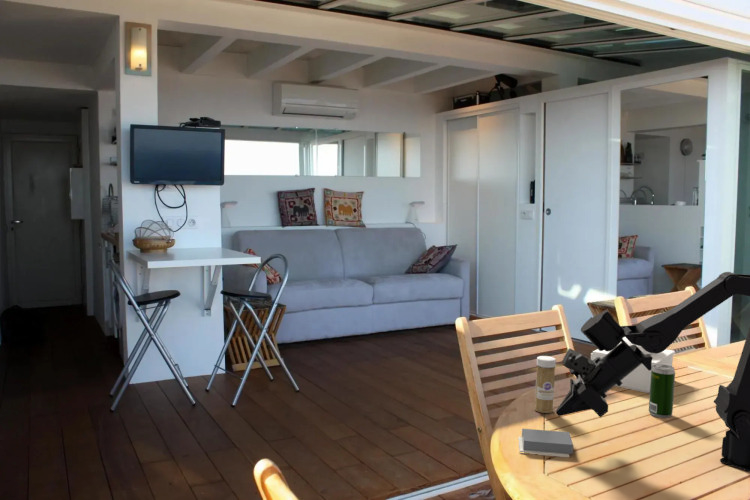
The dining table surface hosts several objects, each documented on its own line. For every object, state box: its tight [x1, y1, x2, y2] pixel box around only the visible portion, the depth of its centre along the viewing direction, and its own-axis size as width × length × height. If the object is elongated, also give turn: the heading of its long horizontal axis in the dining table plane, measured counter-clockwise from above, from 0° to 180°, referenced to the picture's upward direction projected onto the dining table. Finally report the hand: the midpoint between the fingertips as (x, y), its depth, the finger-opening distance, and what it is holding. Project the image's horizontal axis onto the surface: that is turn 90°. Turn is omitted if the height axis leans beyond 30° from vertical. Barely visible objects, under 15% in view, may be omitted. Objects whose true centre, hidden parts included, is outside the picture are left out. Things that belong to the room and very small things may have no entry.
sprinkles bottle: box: [534, 355, 557, 414], centre depth 167 cm, size 5×5×14 cm
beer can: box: [648, 364, 676, 419], centre depth 166 cm, size 5×5×12 cm
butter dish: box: [590, 337, 676, 394], centre depth 194 cm, size 18×18×16 cm
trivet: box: [517, 436, 570, 458], centre depth 145 cm, size 10×8×1 cm
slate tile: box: [521, 428, 574, 455], centre depth 145 cm, size 2×7×10 cm
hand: (557, 414), depth 144 cm, fingers closed
